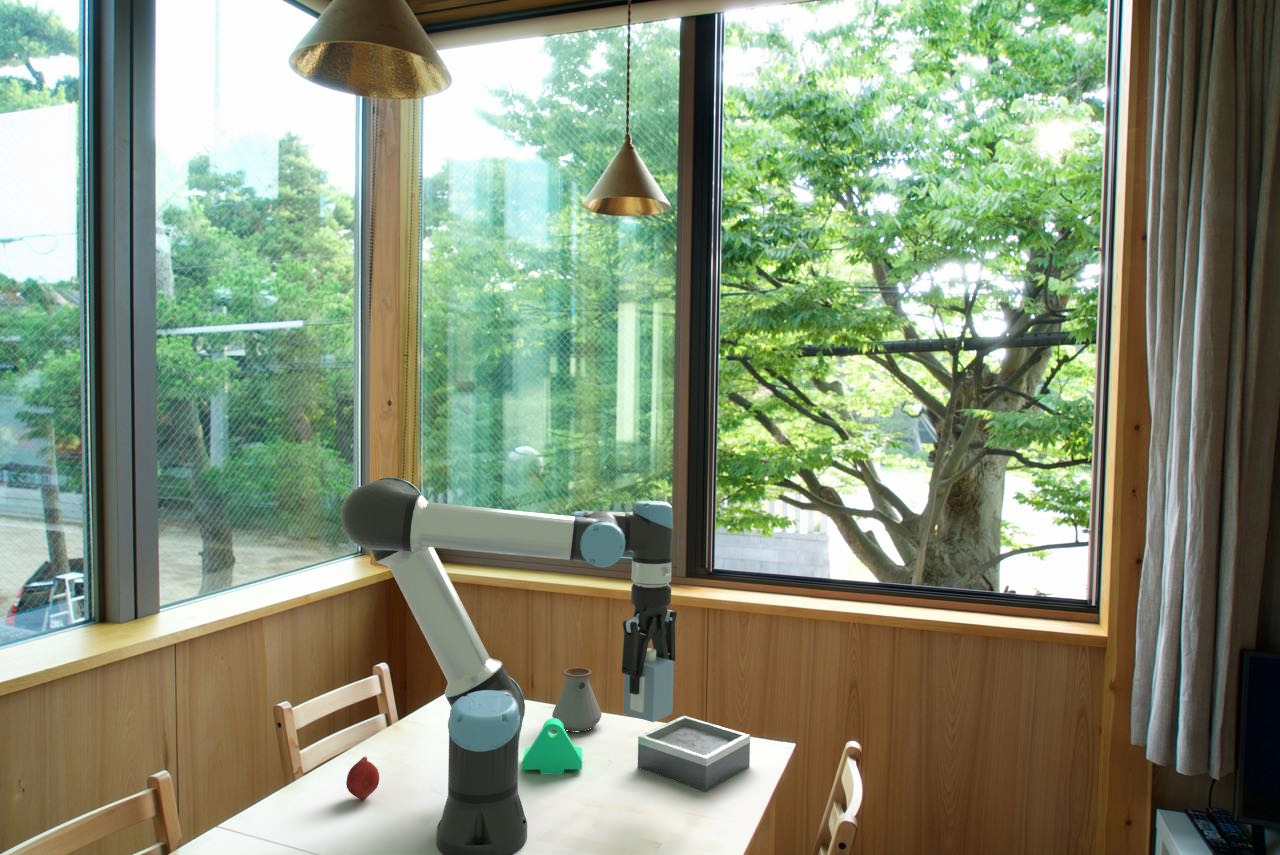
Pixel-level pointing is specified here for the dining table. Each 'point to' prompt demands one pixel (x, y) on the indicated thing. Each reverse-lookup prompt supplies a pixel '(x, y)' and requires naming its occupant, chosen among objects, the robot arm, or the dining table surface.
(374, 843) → the dining table surface
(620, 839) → the dining table surface
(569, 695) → the coffee pot
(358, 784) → the onion
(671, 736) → the open square box
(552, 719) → the camera mount
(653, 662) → the blue bottle
